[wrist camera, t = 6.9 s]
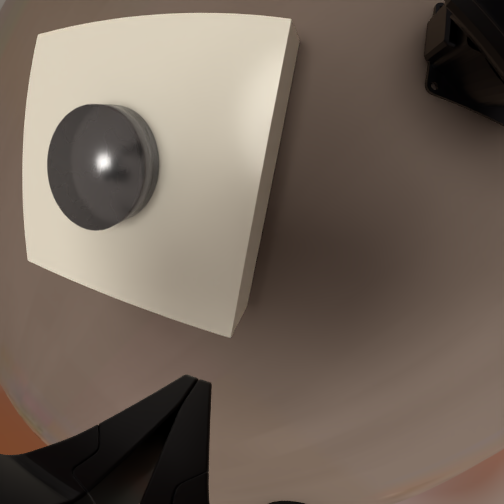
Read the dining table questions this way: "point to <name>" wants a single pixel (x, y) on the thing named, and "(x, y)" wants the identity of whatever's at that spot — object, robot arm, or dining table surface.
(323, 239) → the dining table surface
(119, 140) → the plunger
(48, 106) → the block
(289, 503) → the wine bottle
